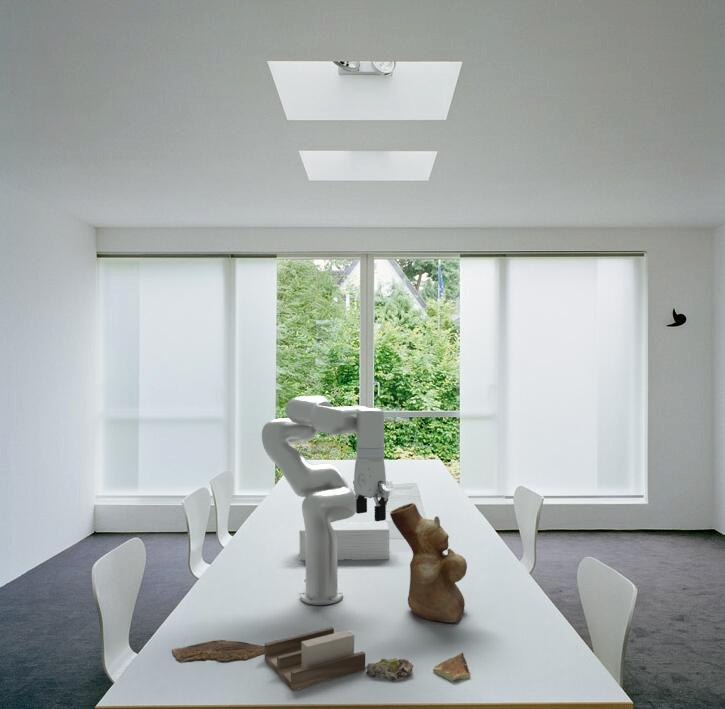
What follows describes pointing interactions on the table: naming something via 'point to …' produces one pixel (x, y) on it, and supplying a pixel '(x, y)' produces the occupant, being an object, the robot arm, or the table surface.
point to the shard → (453, 668)
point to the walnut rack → (288, 665)
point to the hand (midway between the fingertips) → (370, 516)
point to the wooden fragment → (218, 651)
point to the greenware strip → (326, 648)
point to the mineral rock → (390, 669)
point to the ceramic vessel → (431, 567)
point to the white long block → (356, 540)
